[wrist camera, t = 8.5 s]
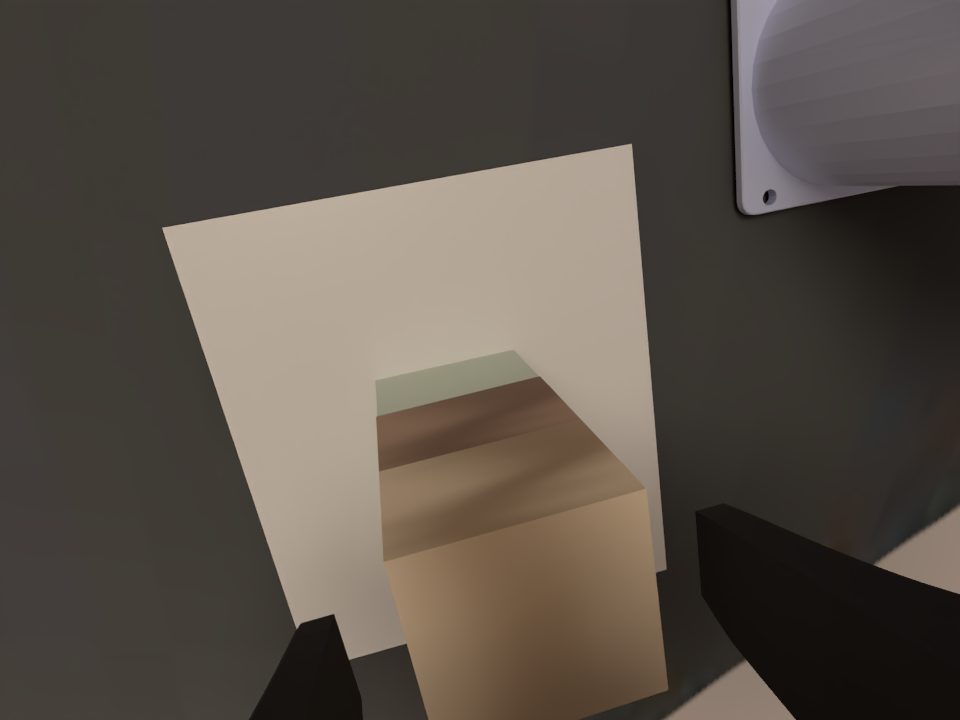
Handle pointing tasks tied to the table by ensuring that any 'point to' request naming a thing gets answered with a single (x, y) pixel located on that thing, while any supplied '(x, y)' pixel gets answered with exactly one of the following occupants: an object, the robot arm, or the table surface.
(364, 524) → the board
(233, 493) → the table surface
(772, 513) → the table surface
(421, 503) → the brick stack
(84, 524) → the table surface
